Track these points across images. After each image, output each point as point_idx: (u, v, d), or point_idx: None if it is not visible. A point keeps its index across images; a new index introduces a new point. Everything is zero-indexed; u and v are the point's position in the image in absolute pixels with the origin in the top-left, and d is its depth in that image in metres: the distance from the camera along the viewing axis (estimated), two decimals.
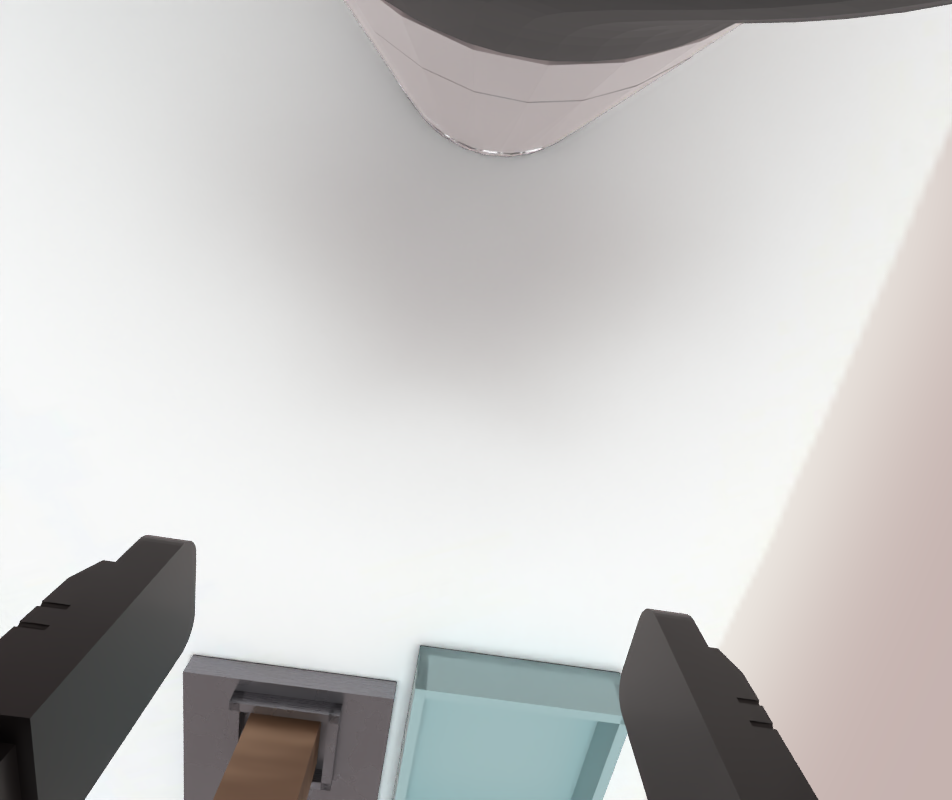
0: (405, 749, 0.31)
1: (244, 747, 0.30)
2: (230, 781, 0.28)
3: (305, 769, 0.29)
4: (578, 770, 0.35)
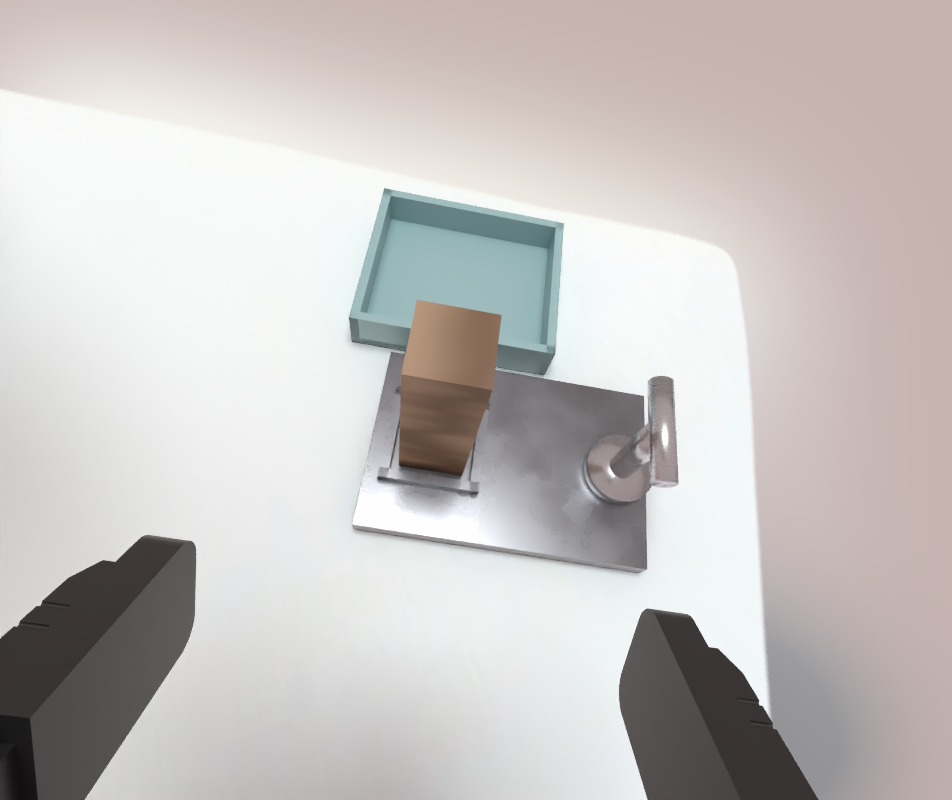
0: None
1: None
2: None
3: None
4: (478, 236, 0.44)
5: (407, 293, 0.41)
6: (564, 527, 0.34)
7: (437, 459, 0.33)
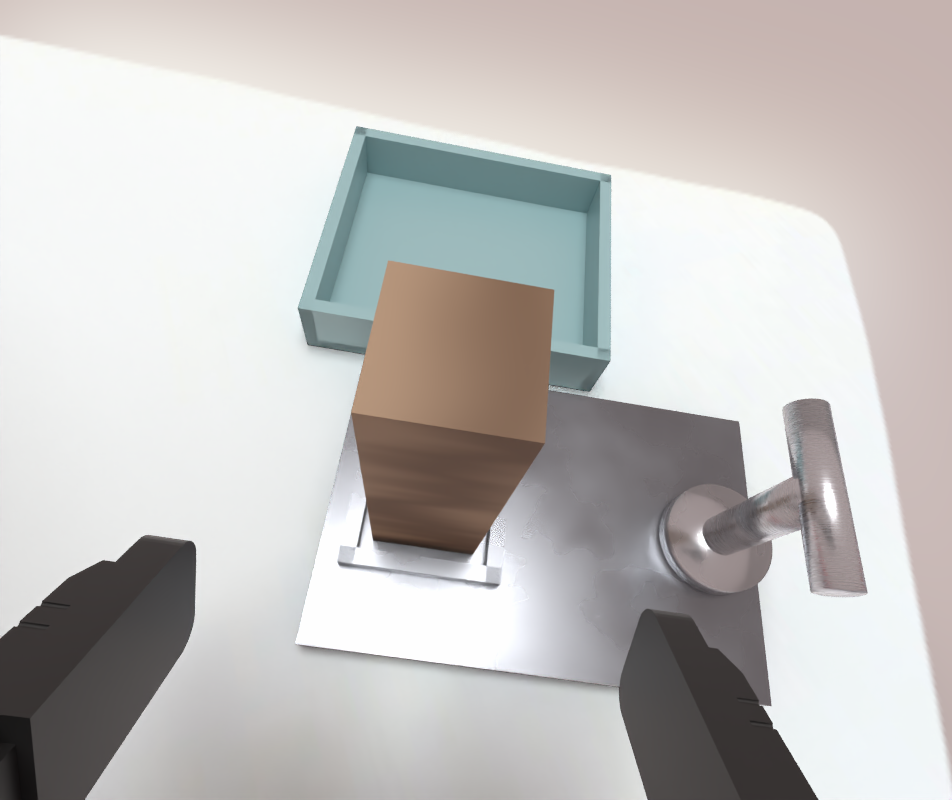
0: None
1: None
2: None
3: None
4: (489, 197, 0.32)
5: None
6: None
7: (433, 536, 0.20)
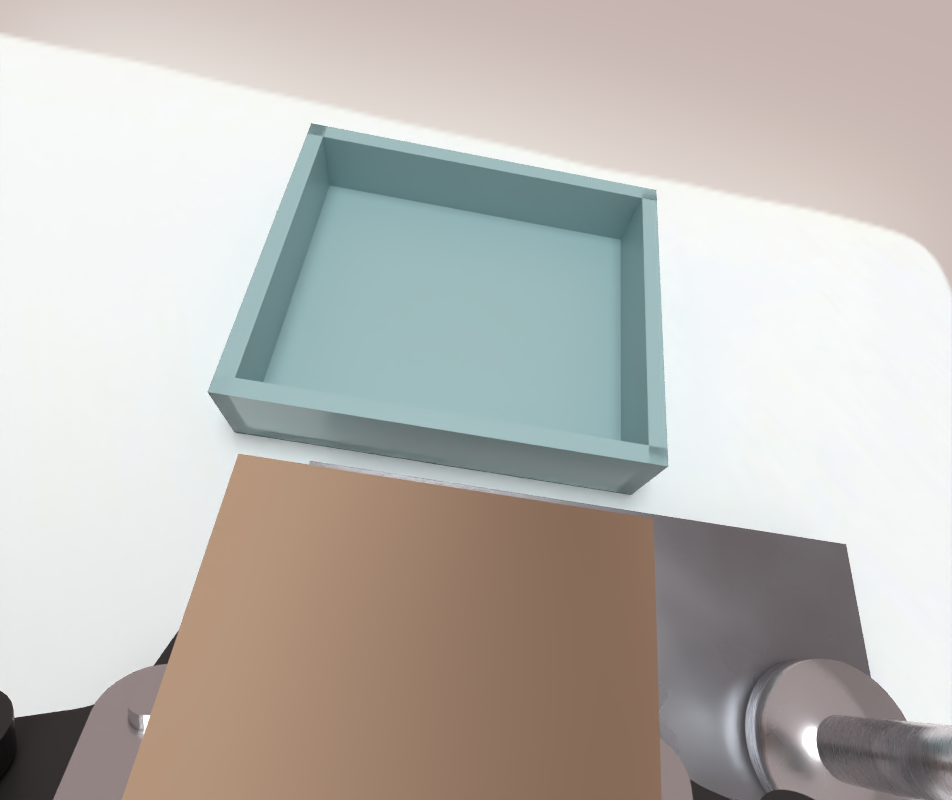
0: (363, 414, 0.16)
1: None
2: None
3: None
4: (492, 218, 0.24)
5: (354, 327, 0.21)
6: None
7: None
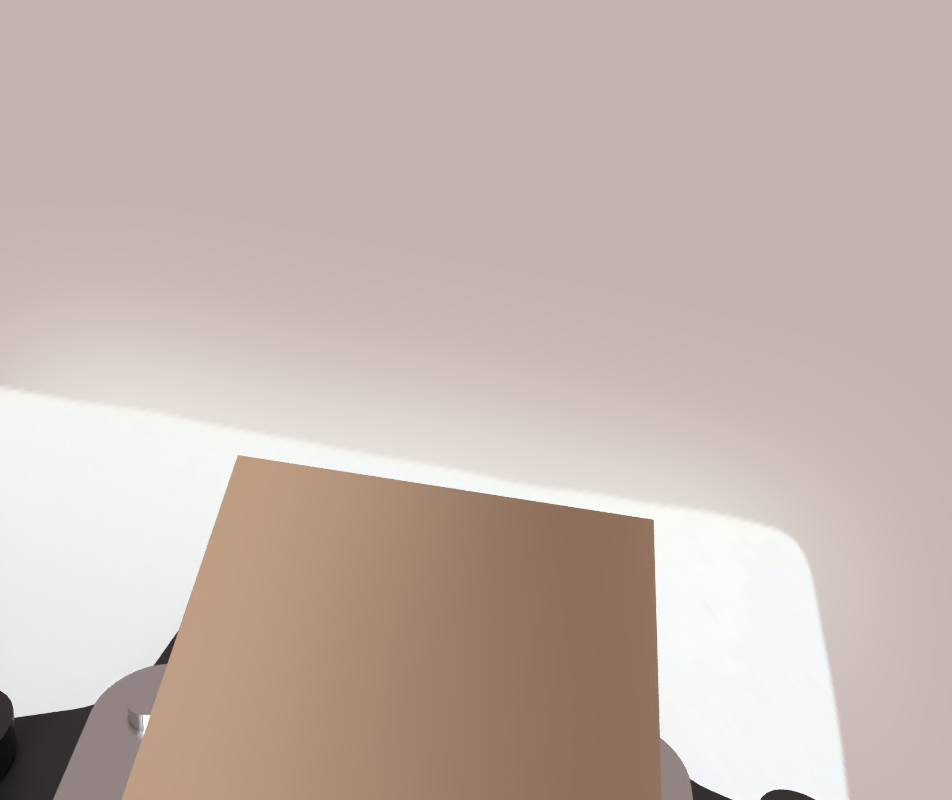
0: None
1: None
2: None
3: None
4: None
5: None
6: None
7: None
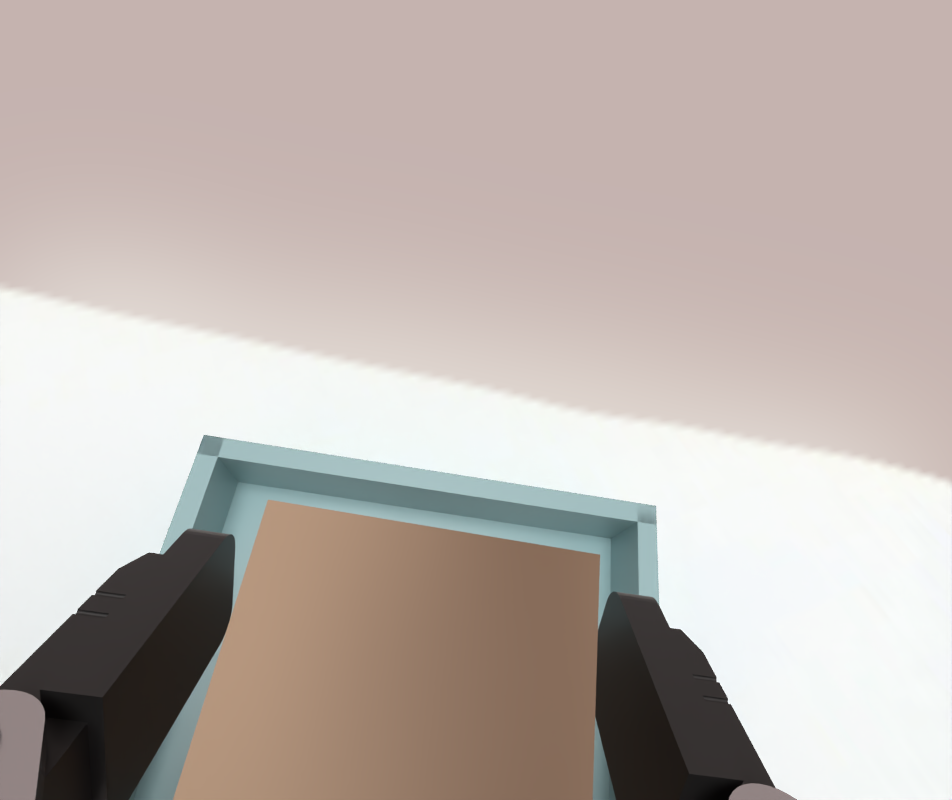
0: None
1: None
2: None
3: None
4: (446, 518, 0.19)
5: None
6: None
7: None
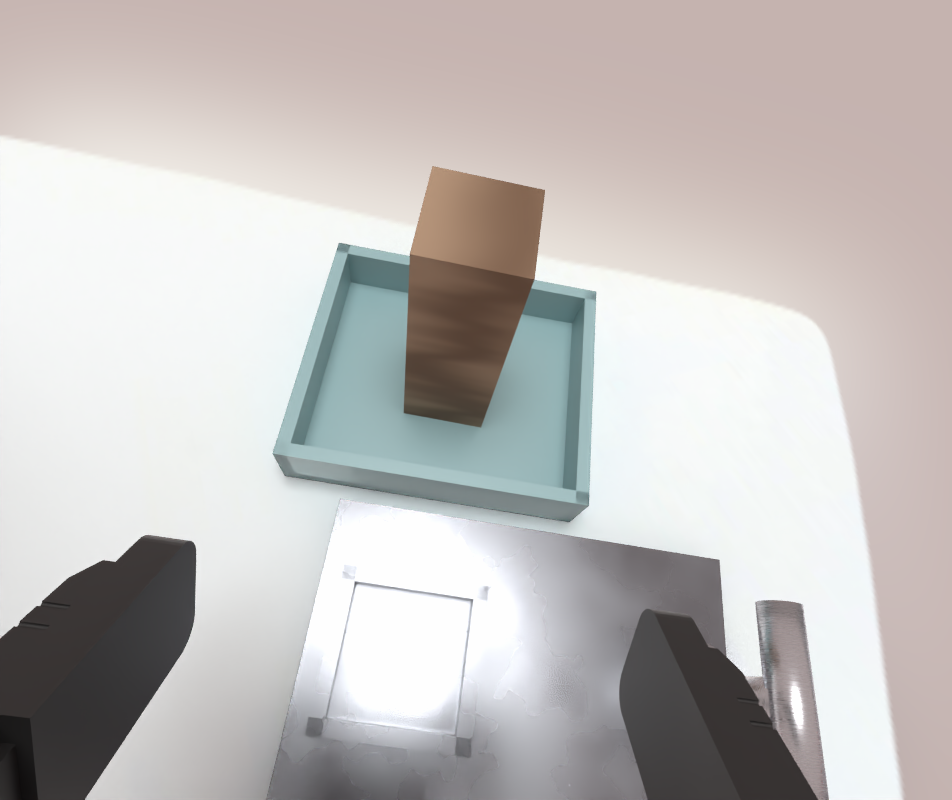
0: (378, 469, 0.24)
1: None
2: None
3: None
4: None
5: (370, 397, 0.28)
6: None
7: (452, 402, 0.26)
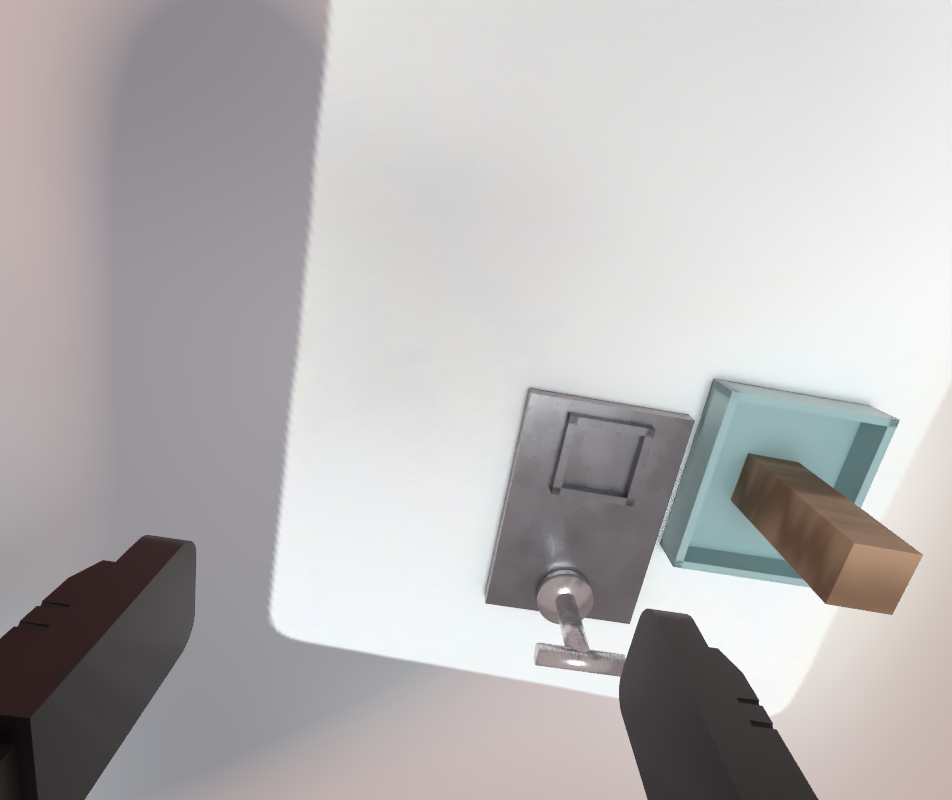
0: (712, 452, 0.39)
1: (771, 468, 0.39)
2: (785, 480, 0.37)
3: (824, 482, 0.38)
4: None
5: (763, 432, 0.41)
6: (520, 550, 0.43)
7: (752, 494, 0.40)
